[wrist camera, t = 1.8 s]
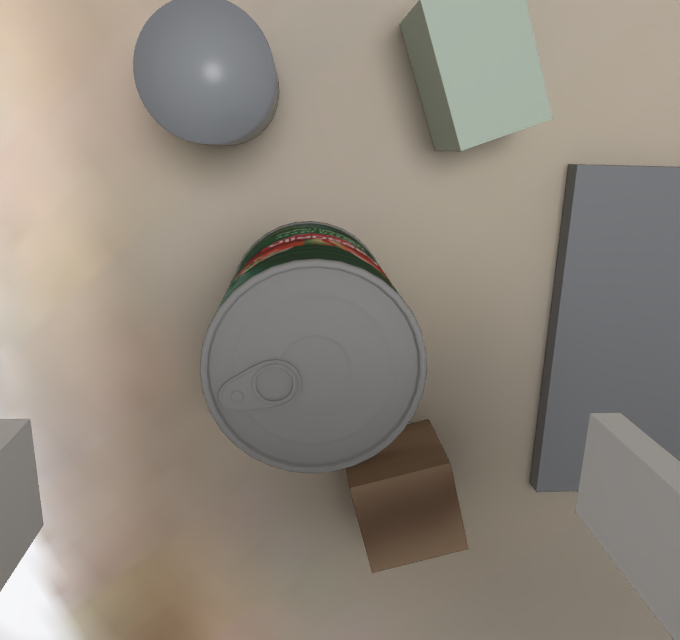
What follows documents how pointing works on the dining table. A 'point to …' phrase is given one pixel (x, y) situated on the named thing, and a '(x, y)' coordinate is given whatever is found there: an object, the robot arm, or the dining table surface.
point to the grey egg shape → (206, 72)
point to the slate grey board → (611, 316)
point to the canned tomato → (312, 353)
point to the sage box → (475, 69)
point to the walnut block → (407, 501)
